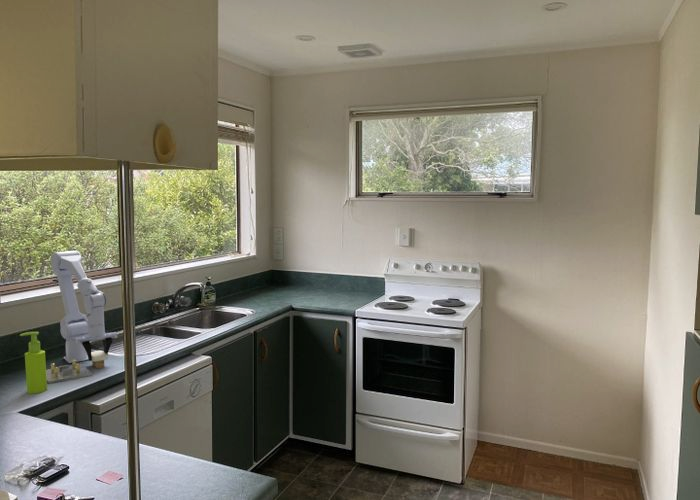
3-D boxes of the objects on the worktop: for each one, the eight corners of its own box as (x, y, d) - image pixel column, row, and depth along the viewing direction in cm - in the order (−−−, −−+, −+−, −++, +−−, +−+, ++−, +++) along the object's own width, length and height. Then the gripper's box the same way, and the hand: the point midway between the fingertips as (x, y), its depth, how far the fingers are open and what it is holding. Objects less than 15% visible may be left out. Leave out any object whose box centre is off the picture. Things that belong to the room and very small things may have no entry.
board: (87, 356, 212) (87, 352, 212) (101, 354, 215) (101, 350, 215) (94, 361, 205) (93, 357, 205) (108, 359, 208) (107, 355, 208)
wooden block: (92, 364, 212) (91, 356, 211) (100, 363, 213) (99, 355, 213) (96, 368, 207) (96, 360, 207) (104, 367, 209) (103, 358, 208)
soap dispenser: (25, 389, 184) (21, 331, 182) (48, 386, 187) (45, 329, 185) (21, 394, 179) (18, 335, 177) (45, 392, 181) (42, 333, 179)
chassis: (40, 372, 202) (39, 362, 202) (81, 365, 211) (80, 355, 210) (49, 383, 190) (48, 372, 189) (92, 375, 198) (91, 364, 198)
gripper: (78, 328, 201) (80, 364, 202) (119, 323, 210) (120, 357, 211) (73, 325, 206) (75, 360, 208) (113, 320, 216) (115, 353, 217)
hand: (97, 358), depth 210 cm, fingers closed on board, 5 cm apart
